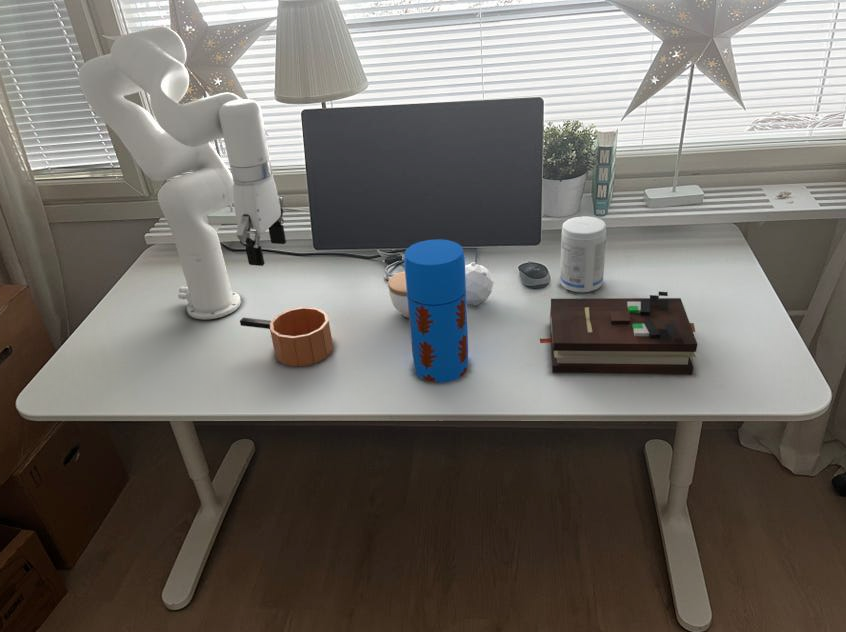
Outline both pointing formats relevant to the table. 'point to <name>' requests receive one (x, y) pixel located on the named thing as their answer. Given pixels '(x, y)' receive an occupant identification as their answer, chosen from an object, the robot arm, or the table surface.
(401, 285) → the trinket box
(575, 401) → the table surface
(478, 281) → the decorative ball
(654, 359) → the decorative book
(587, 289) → the supplement tub
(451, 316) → the thermos
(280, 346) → the copper saucepan
